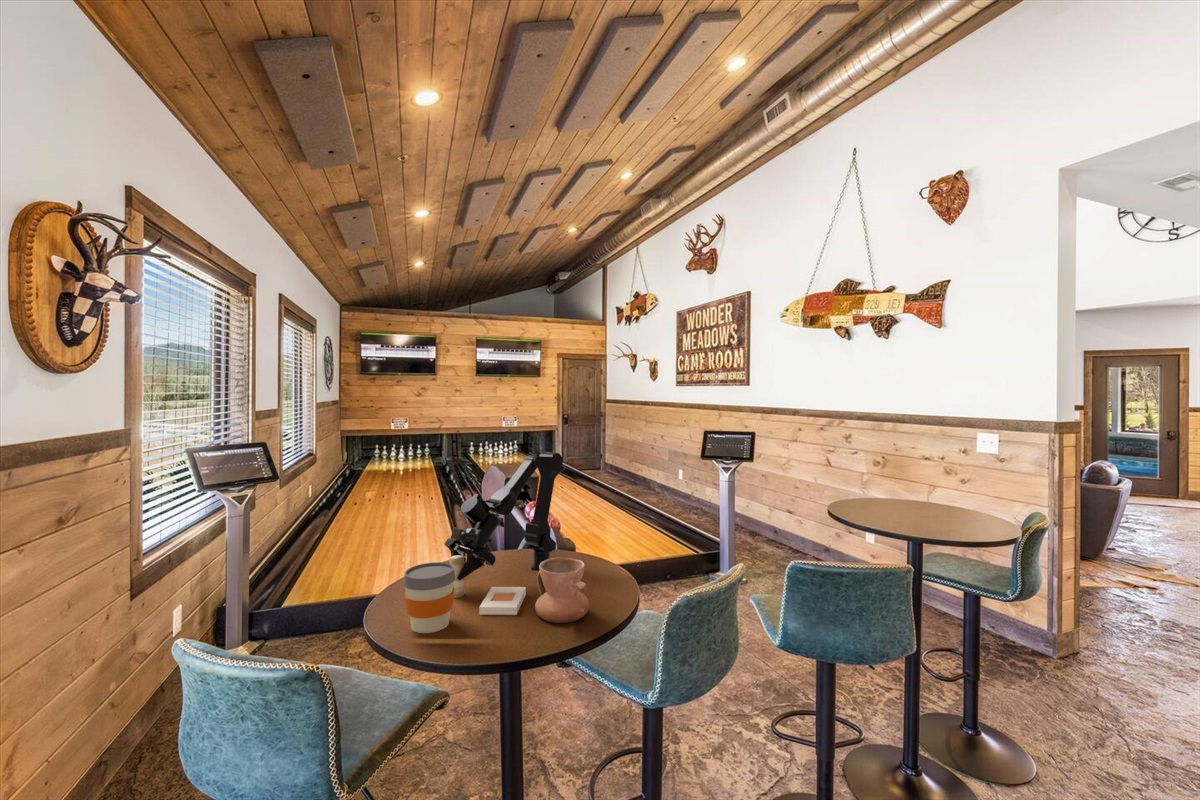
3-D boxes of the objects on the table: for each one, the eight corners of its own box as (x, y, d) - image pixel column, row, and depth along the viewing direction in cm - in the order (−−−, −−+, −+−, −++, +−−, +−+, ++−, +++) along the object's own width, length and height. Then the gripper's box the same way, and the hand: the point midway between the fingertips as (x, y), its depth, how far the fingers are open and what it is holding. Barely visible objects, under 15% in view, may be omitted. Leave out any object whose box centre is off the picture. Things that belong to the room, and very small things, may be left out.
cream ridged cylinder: (452, 595, 153) (452, 555, 152) (466, 595, 152) (465, 555, 152) (448, 601, 149) (447, 559, 148) (461, 601, 148) (461, 559, 148)
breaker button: (496, 599, 147) (496, 594, 147) (515, 599, 147) (515, 594, 147) (491, 607, 141) (491, 602, 141) (511, 607, 141) (511, 602, 141)
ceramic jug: (603, 617, 137) (603, 565, 137) (562, 636, 127) (561, 579, 126) (560, 598, 150) (559, 550, 149) (519, 614, 140) (518, 562, 139)
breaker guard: (491, 597, 151) (491, 586, 151) (525, 597, 151) (525, 587, 151) (479, 618, 137) (479, 607, 137) (516, 618, 137) (516, 607, 137)
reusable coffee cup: (437, 613, 140) (437, 558, 140) (465, 626, 132) (465, 568, 132) (394, 630, 131) (393, 571, 130) (421, 645, 123) (420, 583, 122)
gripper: (449, 511, 159) (417, 556, 151) (487, 521, 147) (454, 570, 139) (470, 531, 165) (441, 575, 157) (508, 542, 153) (479, 590, 145)
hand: (452, 577), depth 149 cm, fingers open, 5 cm apart
